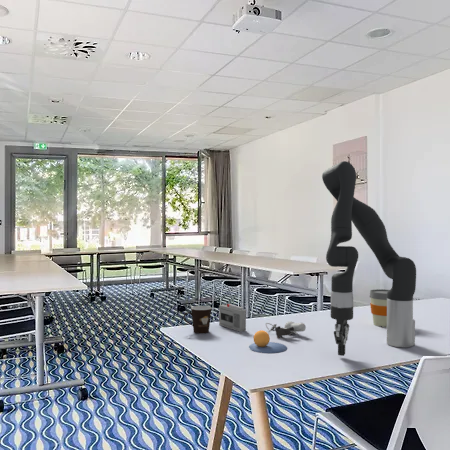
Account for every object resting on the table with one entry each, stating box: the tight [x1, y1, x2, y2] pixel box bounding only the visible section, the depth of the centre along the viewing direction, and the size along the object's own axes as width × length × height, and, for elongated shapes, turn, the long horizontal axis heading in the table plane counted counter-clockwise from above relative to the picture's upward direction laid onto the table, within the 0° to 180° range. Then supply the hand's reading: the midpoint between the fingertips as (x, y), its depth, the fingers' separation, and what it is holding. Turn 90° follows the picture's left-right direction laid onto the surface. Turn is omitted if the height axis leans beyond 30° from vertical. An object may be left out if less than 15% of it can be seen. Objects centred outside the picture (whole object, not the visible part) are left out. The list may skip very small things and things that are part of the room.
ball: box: [253, 329, 271, 347], centre depth 169 cm, size 6×6×6 cm
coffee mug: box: [182, 305, 212, 334], centre depth 192 cm, size 12×9×10 cm
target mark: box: [248, 341, 288, 354], centre depth 168 cm, size 14×14×1 cm
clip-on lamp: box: [265, 321, 307, 339], centre depth 188 cm, size 12×6×18 cm
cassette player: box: [218, 303, 247, 333], centre depth 199 cm, size 16×3×10 cm, turn 36°
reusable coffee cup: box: [369, 288, 390, 328], centre depth 205 cm, size 12×13×15 cm
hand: (341, 354), depth 156 cm, fingers closed
